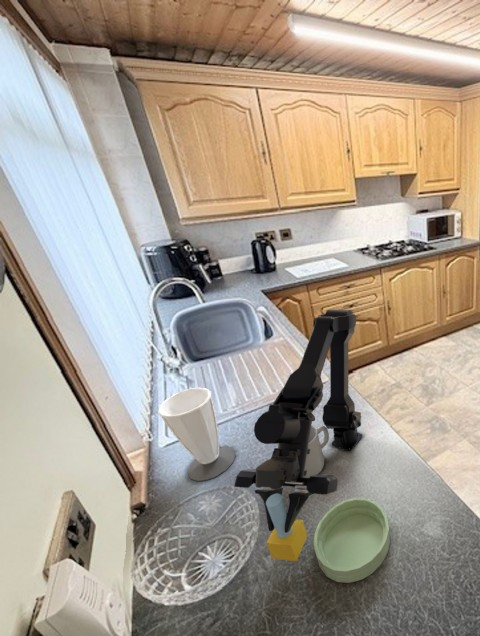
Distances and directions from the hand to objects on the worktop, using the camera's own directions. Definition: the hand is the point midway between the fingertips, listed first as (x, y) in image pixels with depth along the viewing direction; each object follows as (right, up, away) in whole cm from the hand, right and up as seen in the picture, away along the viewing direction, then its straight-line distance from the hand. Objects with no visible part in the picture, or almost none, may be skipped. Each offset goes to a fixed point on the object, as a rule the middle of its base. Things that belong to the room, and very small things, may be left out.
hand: (278, 531), depth 65 cm
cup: (-31, 0, +30) cm, 43 cm away
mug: (-3, +1, +29) cm, 29 cm away
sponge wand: (+1, -6, +4) cm, 7 cm away
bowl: (+12, -8, +9) cm, 17 cm away
